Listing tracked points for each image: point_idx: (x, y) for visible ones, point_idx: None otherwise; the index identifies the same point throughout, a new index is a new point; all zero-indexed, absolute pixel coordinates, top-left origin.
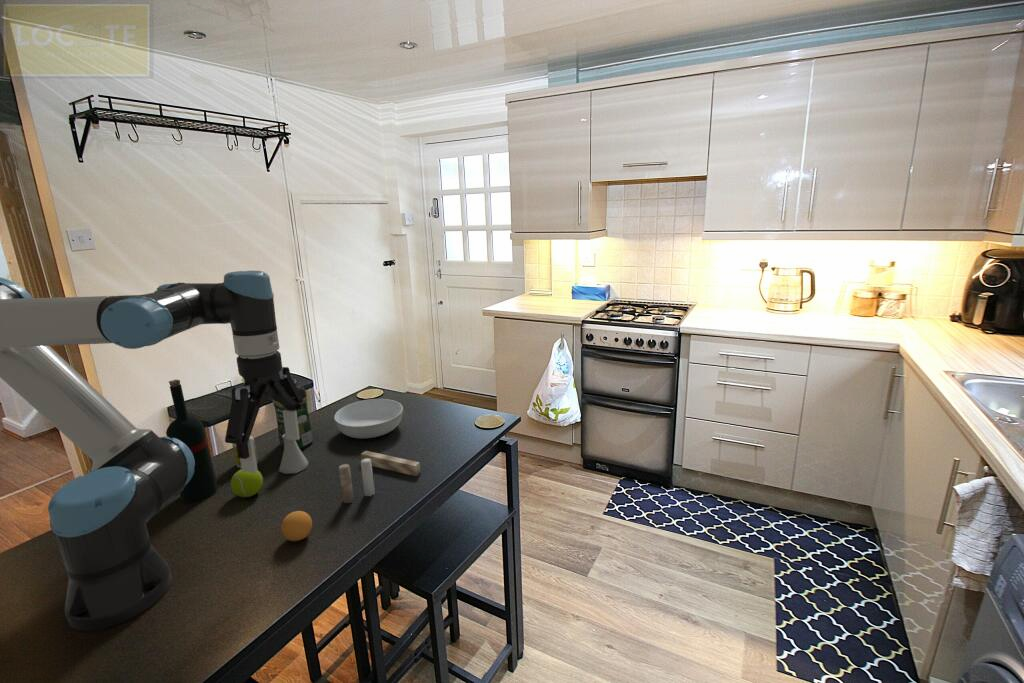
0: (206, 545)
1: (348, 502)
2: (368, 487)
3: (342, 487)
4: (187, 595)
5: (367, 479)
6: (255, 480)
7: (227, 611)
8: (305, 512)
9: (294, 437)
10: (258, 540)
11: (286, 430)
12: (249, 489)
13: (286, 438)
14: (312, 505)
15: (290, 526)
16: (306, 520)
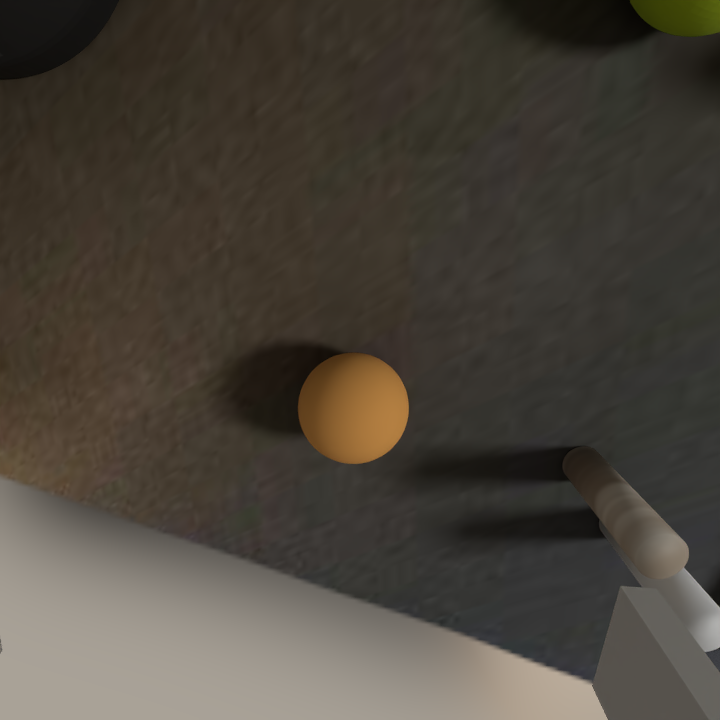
0: (286, 36)
1: (563, 470)
2: (618, 551)
3: (594, 489)
4: (43, 169)
5: (636, 576)
6: (697, 12)
7: (21, 348)
8: (390, 443)
9: (612, 682)
10: (332, 245)
11: (673, 691)
12: (643, 3)
13: (624, 592)
14: (554, 341)
15: (305, 422)
16: (348, 462)
